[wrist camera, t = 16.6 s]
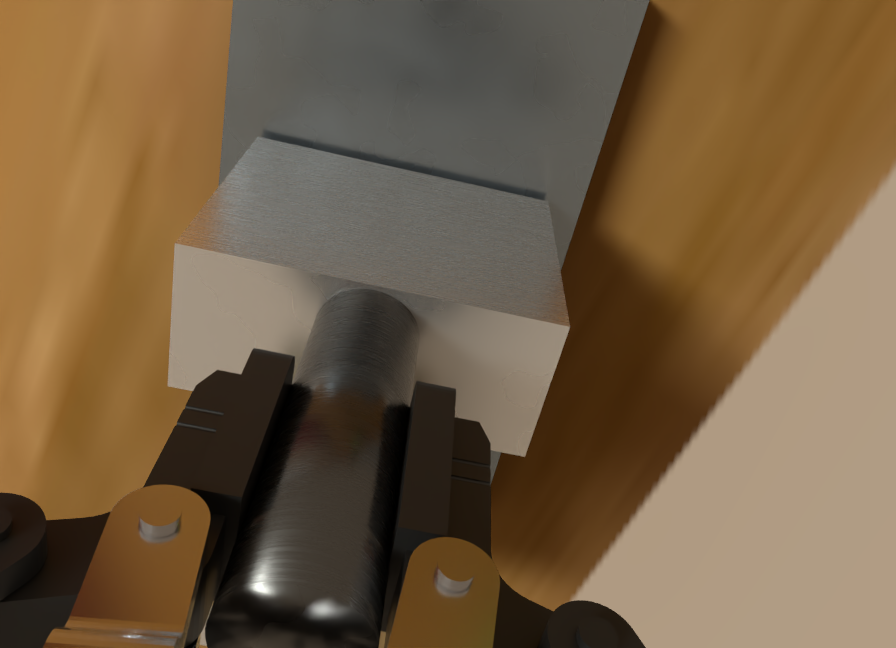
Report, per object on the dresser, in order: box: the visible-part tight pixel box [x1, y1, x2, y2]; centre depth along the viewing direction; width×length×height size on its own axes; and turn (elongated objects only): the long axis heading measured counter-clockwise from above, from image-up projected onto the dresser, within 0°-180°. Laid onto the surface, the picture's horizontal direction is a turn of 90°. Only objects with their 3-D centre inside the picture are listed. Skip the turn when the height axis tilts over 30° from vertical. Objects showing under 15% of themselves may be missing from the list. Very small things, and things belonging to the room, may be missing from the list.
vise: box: [200, 0, 649, 646], centre depth 22 cm, size 18×10×8 cm, turn 168°
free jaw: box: [168, 137, 570, 648], centre depth 17 cm, size 4×8×14 cm, turn 78°
